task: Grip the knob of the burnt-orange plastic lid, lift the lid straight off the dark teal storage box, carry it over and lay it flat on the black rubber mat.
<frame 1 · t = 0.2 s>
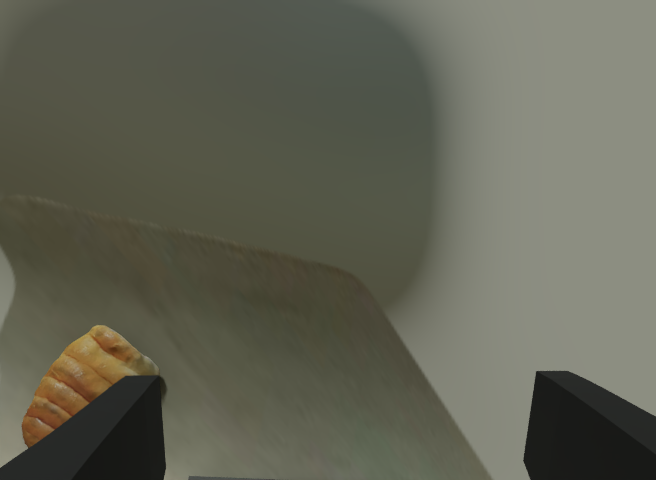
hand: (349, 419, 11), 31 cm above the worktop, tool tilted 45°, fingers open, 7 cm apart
pastry: (100, 393, 41), on the worktop
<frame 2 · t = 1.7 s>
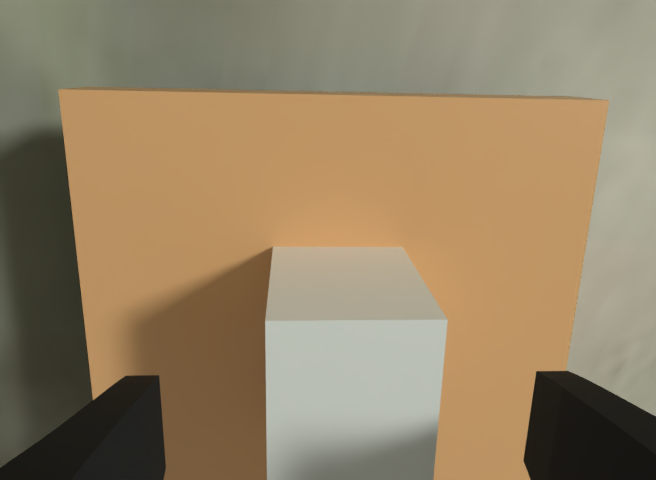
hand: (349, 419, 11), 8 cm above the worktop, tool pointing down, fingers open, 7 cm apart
lid: (333, 330, 15), point 4 cm above the worktop, touching box
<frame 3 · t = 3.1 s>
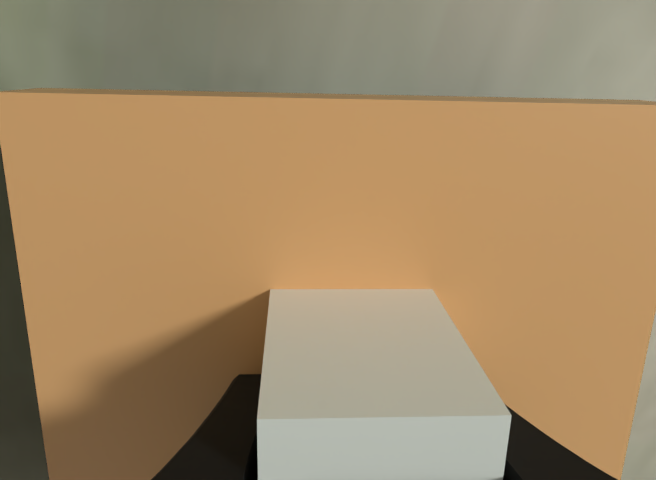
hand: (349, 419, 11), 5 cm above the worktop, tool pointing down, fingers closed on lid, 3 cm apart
lid: (344, 385, 12), point 4 cm above the worktop, touching box, gripper
when the fingers open (4 cm above the worktop, at t = 7.3 s): lid stays where it is, resting on mat.
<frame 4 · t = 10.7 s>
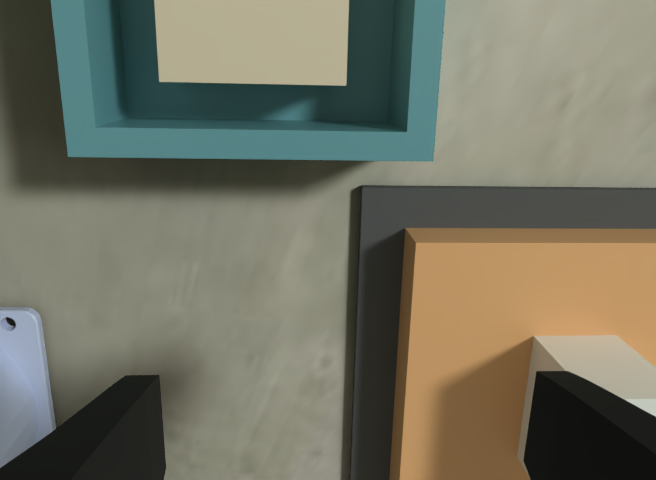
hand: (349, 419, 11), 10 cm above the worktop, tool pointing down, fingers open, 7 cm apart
mat: (539, 370, 23), on the worktop
lid: (555, 386, 21), point 1 cm above the worktop, touching mat
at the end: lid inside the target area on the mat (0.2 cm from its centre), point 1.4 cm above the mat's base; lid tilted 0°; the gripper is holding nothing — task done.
